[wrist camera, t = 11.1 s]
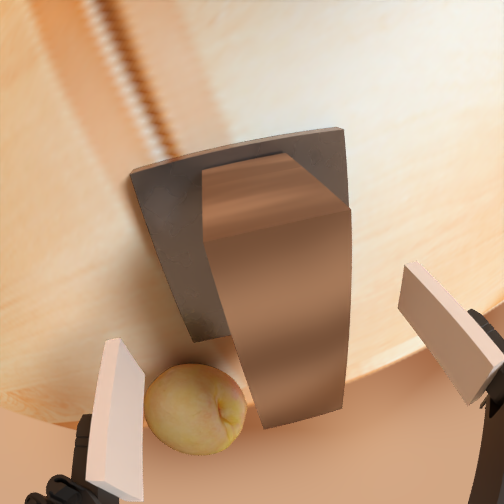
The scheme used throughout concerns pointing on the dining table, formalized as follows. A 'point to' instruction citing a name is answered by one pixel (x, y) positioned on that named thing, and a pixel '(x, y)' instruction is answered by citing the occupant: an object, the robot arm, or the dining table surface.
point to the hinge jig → (190, 212)
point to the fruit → (195, 409)
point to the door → (282, 282)
